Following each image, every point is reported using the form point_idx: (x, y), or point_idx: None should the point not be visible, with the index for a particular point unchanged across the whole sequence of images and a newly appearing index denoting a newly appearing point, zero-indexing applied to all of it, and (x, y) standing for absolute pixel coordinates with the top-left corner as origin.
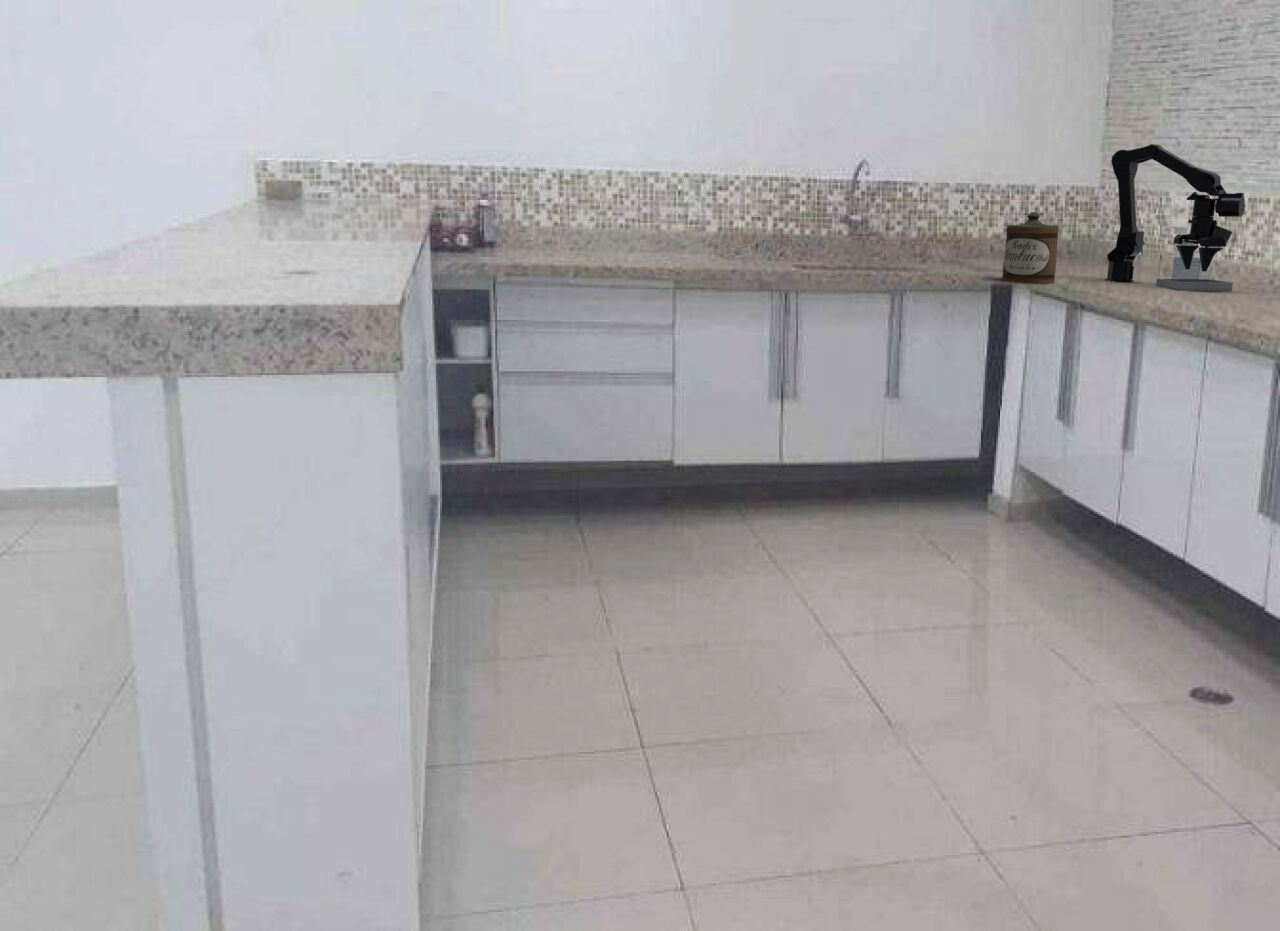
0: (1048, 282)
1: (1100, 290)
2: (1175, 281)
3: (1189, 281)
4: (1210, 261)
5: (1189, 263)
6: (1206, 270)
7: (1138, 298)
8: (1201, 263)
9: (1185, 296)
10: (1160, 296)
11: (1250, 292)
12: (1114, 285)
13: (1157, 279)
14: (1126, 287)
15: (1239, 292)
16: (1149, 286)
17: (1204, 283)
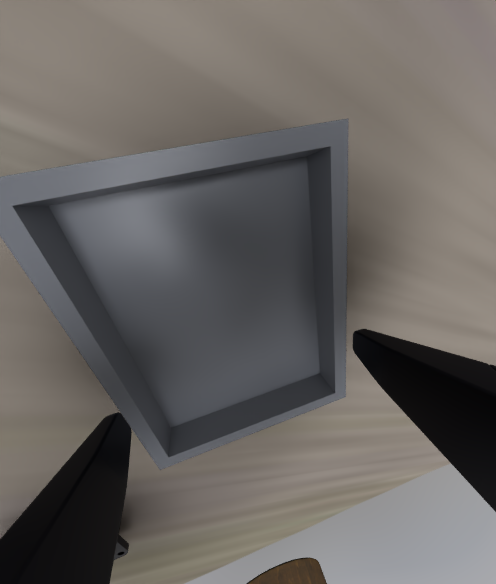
0: (319, 577)
1: (325, 504)
2: (309, 407)
3: (100, 330)
4: (467, 364)
5: (101, 472)
6: (369, 331)
7: None
8: (412, 407)
9: None
10: None
11: (381, 33)
12: (138, 523)
13: (168, 463)
14: (216, 488)
15: (378, 123)
16: None
17: (342, 302)
